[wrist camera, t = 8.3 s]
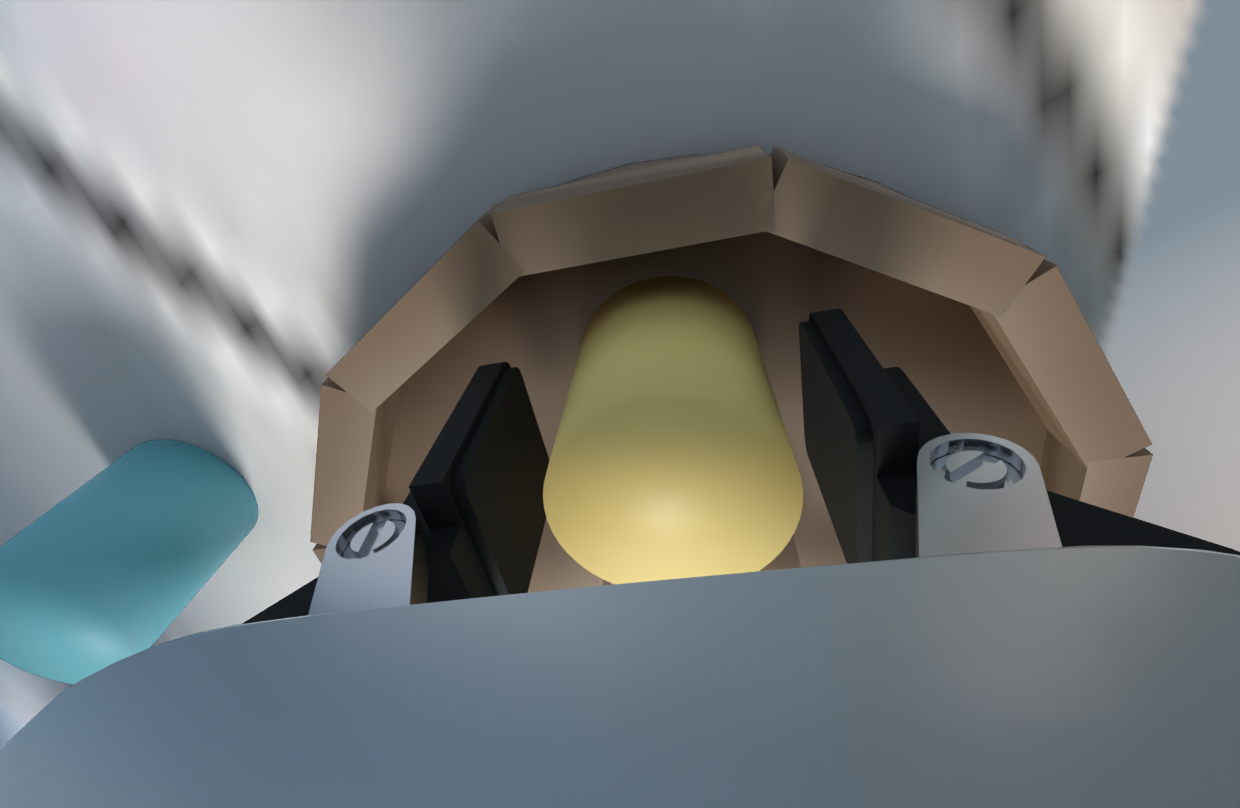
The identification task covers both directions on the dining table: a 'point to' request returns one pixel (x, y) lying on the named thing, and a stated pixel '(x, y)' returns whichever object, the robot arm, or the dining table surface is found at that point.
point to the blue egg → (119, 559)
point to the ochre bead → (671, 442)
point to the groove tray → (772, 301)
